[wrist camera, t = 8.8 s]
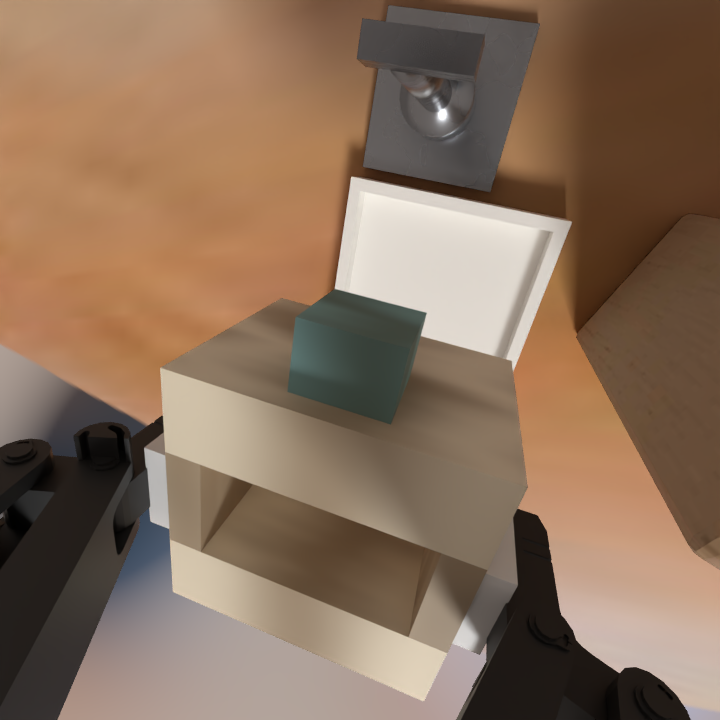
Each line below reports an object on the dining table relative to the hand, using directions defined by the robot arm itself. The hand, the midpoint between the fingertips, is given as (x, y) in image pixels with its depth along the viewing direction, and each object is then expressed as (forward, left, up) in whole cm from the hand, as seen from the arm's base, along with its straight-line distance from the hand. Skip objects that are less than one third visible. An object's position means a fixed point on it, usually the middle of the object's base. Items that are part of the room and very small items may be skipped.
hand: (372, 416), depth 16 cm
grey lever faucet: (-13, -2, -18) cm, 22 cm away
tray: (0, 0, -18) cm, 18 cm away
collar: (0, 0, +1) cm, 1 cm away
